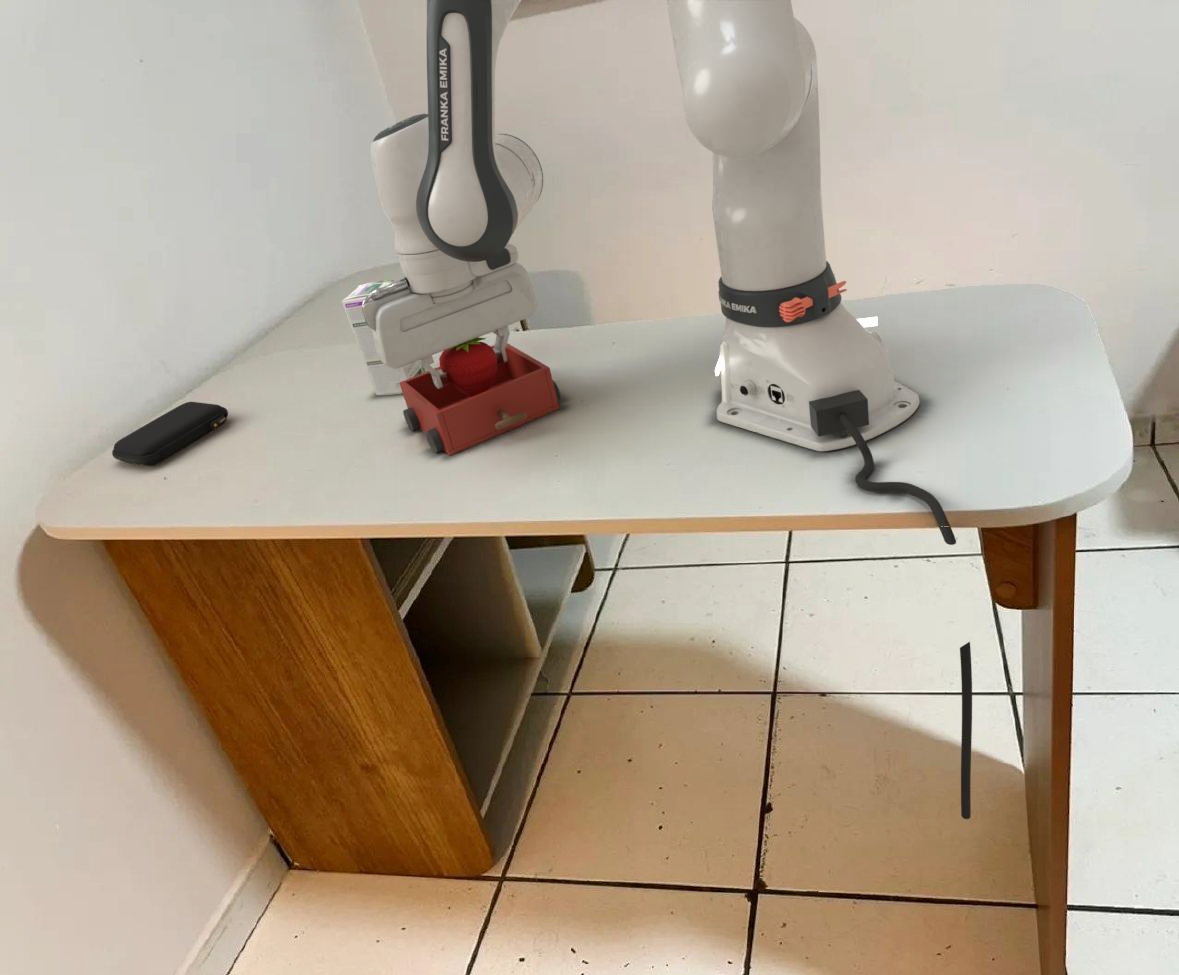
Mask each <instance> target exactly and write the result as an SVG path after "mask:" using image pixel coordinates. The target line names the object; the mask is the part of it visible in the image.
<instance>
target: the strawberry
mask: <svg viewBox="0 0 1179 975" xmlns="http://www.w3.org/2000/svg"><path fill="white" fill-rule="evenodd" d="M486 339H487V337H477V338H475V339H472V340H470V341H467V342H464V343H462V344H459V345H457V346H454V347H452V348H449V349H446V350H444V351H441V354H440V356H439V357H438V361H439V367H440V369H443V371H445V372H447V376H448V380H449V382H450V383H451V384H453V385H454V386H455V387H456V388H457V389H459V390H460V391H461V392H463V393H464V394H466V395H467V396H469V397H473V396H475V395H478V394H480V393H483V392H485V391H487V390H489V388H490V386H491V384H492V382H493V379H494V377H495V374H496V371H497V356H496V354H495V352H494V350H493V348H492V347H491V346H492V345H489V344H487V343H486V342H483V341H484V340H486Z"/></svg>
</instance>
